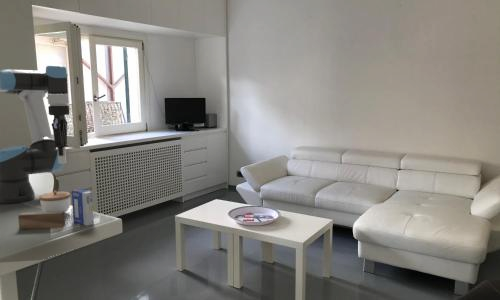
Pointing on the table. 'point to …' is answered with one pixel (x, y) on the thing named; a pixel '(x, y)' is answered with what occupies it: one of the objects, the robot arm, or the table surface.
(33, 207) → the table surface
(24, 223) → the bar
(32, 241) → the table surface
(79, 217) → the walkman
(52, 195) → the lidded jar
